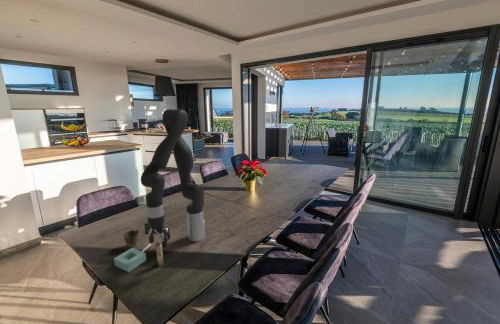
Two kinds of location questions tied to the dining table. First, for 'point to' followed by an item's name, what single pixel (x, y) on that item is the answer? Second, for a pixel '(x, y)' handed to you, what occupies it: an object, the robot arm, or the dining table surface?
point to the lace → (146, 248)
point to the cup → (131, 238)
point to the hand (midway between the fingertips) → (158, 245)
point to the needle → (159, 253)
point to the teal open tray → (130, 259)
